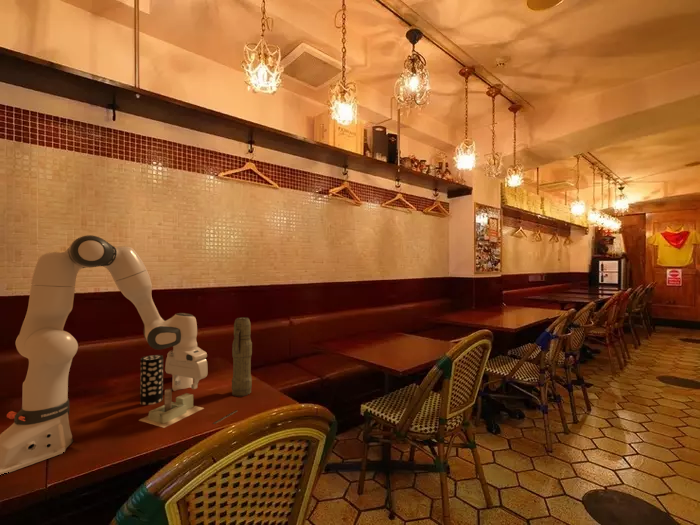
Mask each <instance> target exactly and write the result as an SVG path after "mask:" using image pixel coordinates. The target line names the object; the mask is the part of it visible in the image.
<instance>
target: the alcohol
mask: <svg viewBox="0 0 700 525" xmlns="http://www.w3.org/2000/svg"><path fill="white" fill-rule="evenodd" d="M178 377H179V380H181V384H180V385H175V381H174V379H173V377H172V381H171V382H172V388H171V389H172V391H173V392H176V391H178V390H185V389H188V388H191V387H192V386H191V384H193V383H194V381H193V378H188V377H183V376H178ZM191 389H192V388H191Z"/></svg>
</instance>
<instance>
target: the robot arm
mask: <svg viewBox="0 0 700 525" xmlns="http://www.w3.org/2000/svg"><path fill="white" fill-rule="evenodd" d="M97 267H102V268H103V267H104V268H105V269H106V270H107V271H108V272H109V273H110V275H111V277H112V279H113V281H114V283H115V285H116V287H117V288H118V290H119V291H120V292H121V294H122V295H123V297H125V298H126V299H127V300H129V301H130V302H131V303H132V304H133V305H134V307H135V308H136V310H137V312H138V314H139V316H140V319H141V320H142V323H143V337H144V339H145V341H146V342H147V344H148V345H149V347H150V348H152V349H153V350H164V349H168V348H173V349H172V350H169V351H168V353H167V354H166V355H167V357H166V358H165V364H164V365H165V367H164V371H165V373H166V374H168V375H171V376H172V377H173V379H174V381H175V385H180V384H181V380H179V377H178V376H183V377H188V378H193V384H191V386H192V387H191V389H192V390H196V389H198V384H199V382H200V380H202V379H205V378H206V377H207V376H208V373H209V372H208V361H207V359H206V358H207V357H208V354H207V352H206V351H205V350H203V349H202V348H200V347H199V346H198V342H197V336H198V325H197V324H198V322H197V319H196V316H194V315H193V314H191V313H186V312H179V313H178V312H177V313H175V314H174V315H172V316H171V317H170V318H168V319H166V320H165V318H163V317H162V316H161V315H160V313H159V310H158V308H157V307H156V305H155V302H154V299H153V297H152V291H153V284H152V279H151V276H150V274H149V270H148V269H147V267H146V265H145V262H144V261H143V260H142V258H141V257H140V256H139V254H138V253H137V251H136V250H135V249H134V248H133V247H131V246H125V245H122V246H117V247H116V246H114V245H112V244H111V243H109V242H108V241H106V240H105V239H103V238H101V237H100V236H97V235H89V234H87V235H82V236H79V237H78V238H76V239H74V240H73V241H72V243H71V244H70V245H69V247H68V248H67V249H66V250H65V251H64V252H63V251H62V252H57V251H56V252H55V251H54V252H48V253H44V254H42V255H41V256H40V257H39V258H38V260H37V262H36V264H35V268H34V271H33V274H32V278H31V283H30V291H29V298H28V306H27V309H26V310H27V311H26V314H25V318H24V320H23V321H22V325H21V327H20V331H19V334H18V335H17V337H16V340H15V347H16V351H17V353H19V355H21V356H22V357H24V358H26V359H28V367H27V373H26V375H25V379H24V381H23V382H22V398H21V399H22V404H21V408H20V410H18V412H16V411H13V410H10V411H9V412H8V413H7V414H6V417H7V419H10V420H13V419H14V420H13V421H14V422H13V423H12V424H11V425H10V426H9V427H7V429H5V430H4V431H3V432H1V433H0V475H1V474H4V473H7V474H9V473H12V472H15V471H17V470H20V469H23V468H25V467H28V466H31V465H34V464H37V463H39V462H43V461H45V460H47V459H48V460H49V459H50V458H54V457H56V456H58V455H63V452H64V453H65V452H66V450H67V448H69V447H70V445H71V444H72V443H73V442H74V438H73V435H72V431H71V427H70V420H69V415H70V399H69V398H68V397H69V396H68V395H69V394H68V392H69V387H68V386H69V375H70V373H69V372H70V371H71V369H70V368H71V366H72V362H73V358H74V357H75V355H76V354H77V352H78V349H79V344H78V341H77V339H76V338H75V337H74V336H73V335H72V334H71V333H70V332H68V331H66V330H64V327H65V324H66V321H67V319H68V316H69V315H70V313H71V312H72V310H73V307H74V298H75V291H76V284H77V283H76V281H77V276H78V273H79V272H80V270H81V269H86V268H89V269H91V268H97ZM8 472H9V473H8ZM4 475H5V474H4ZM1 476H2V475H1Z"/></svg>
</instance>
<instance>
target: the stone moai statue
mask: <svg viewBox="0 0 700 525" xmlns="http://www.w3.org/2000/svg"><path fill="white" fill-rule="evenodd" d="M251 324H252V323H251V321H250V318H249V317H244V316H243V317H237V318H235V320H234V323H233V341H232V345H231V346H232V348H231V349H232V350H231V352H232V354H231V357H232V358H233V359H232V362H233V363H232V369H233V370H232V378H231V395H232V396H233V397H238V398H239V397H240V398H242V397H246V396H248V394H249V395H251V394H250V393H252V385H253V377H252V374H251V373H252V372H251V371H252V370H251V369H252V368H251V367H252V364H251V363H252V361H251V360H252V356H253V355H252V354H253V342H252V338H251V334H252V333H251V332H252V331H251V330H252V329H251V327H252V325H251Z"/></svg>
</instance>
